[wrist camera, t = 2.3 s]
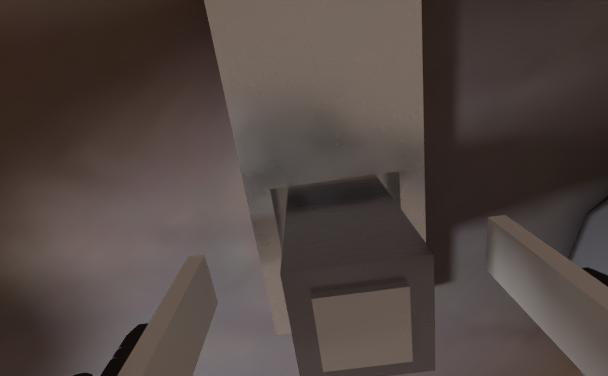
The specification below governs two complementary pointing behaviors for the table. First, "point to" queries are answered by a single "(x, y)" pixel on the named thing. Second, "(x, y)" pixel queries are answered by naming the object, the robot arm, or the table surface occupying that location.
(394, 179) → the rail
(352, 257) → the grey tall square block
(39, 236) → the table surface
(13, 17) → the table surface
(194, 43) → the table surface
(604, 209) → the bottle
